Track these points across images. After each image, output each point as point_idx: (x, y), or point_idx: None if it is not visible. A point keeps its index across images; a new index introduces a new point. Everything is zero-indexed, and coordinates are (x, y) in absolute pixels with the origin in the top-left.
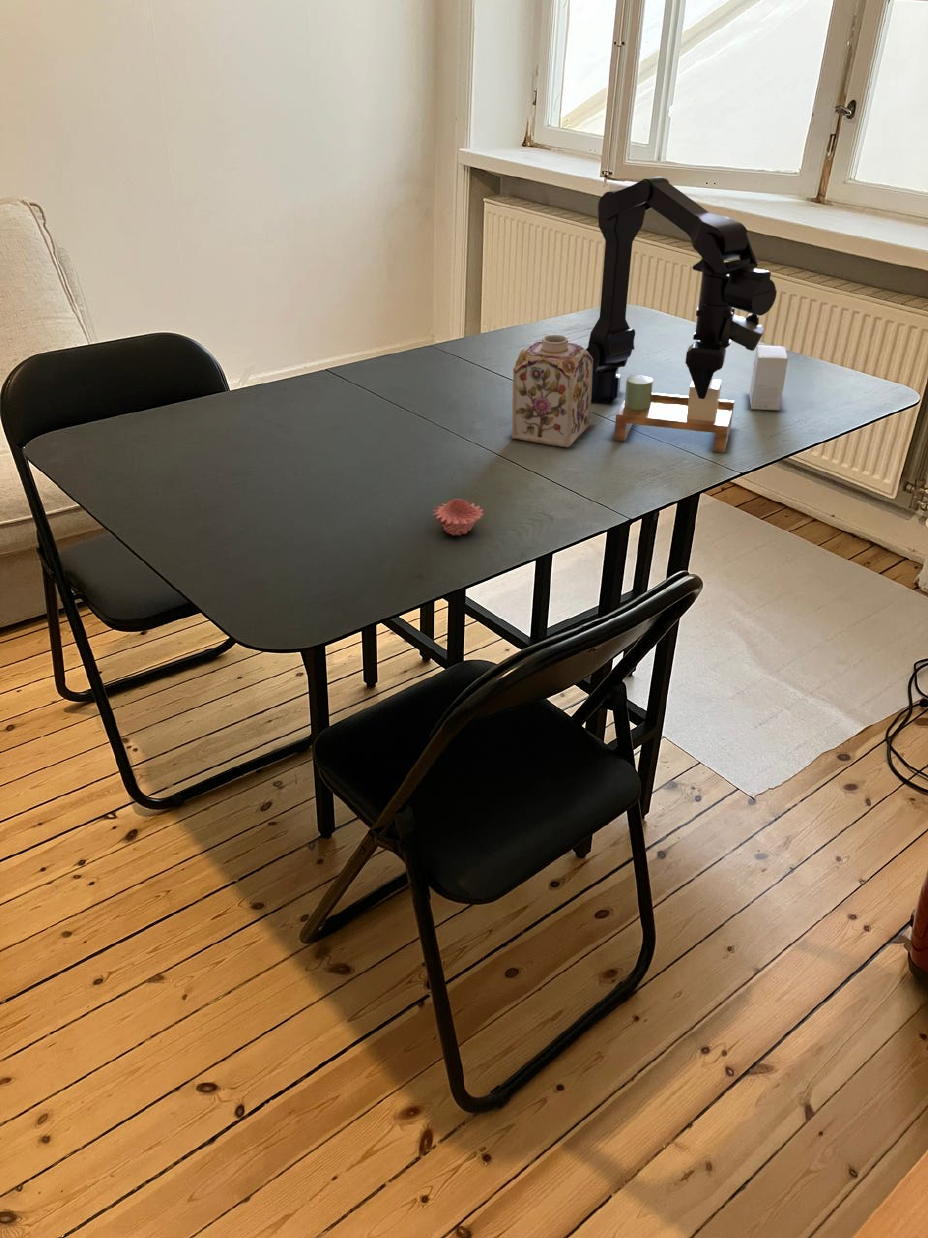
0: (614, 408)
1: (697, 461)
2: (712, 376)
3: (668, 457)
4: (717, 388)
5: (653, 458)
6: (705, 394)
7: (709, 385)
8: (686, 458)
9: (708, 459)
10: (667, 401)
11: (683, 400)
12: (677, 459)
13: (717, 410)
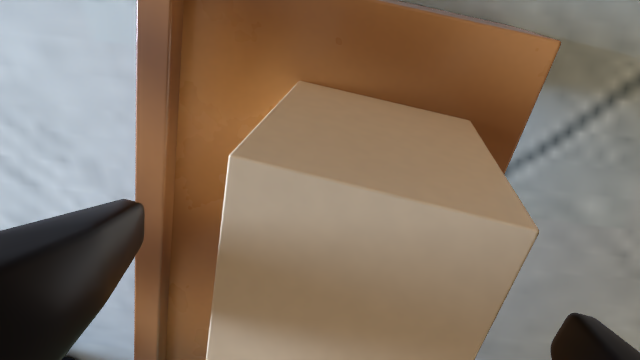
0: (109, 356)
1: (598, 160)
2: (117, 216)
3: (537, 261)
4: (504, 236)
5: (540, 309)
6: (632, 351)
7: (406, 292)
8: (557, 199)
9: (582, 110)
10: (188, 304)
11: (170, 243)
12: (562, 233)
13: (321, 89)
